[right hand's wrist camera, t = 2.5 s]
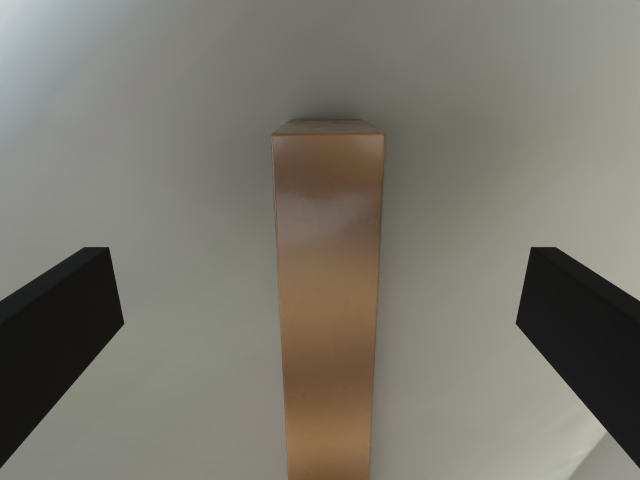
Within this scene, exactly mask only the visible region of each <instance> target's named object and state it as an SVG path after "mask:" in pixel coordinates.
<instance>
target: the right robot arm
mask: <svg viewBox="0 0 640 480" xmlns="http://www.w3.org/2000/svg"><path fill="white" fill-rule="evenodd" d="M123 325H124V320H123V315H122V310H121V305H120V300H119V295H118V290H117V285H116V280H115V275H114V270H113V265H112V260H111V255H110V250H109V247H84V248H82V249H81V250H79V251H78V252H76V253H74V254H73V255H71V256H70V257H68V258H67V259H65V260H64V261H62V262H60V263H59V264H57V265H56V266H54V267H53V268H51V269H50V270H48V271H46V272H45V273H43V274H42V275H40V276H39V277H37V278H36V279H34V280H32V281H31V282H29V283H28V284H26V285H25V286H23V287H22V288H20V289H19V290H17V291H15V292H14V293H12V294H11V295H9V296H8V297H6V298H5V299H3V300H1V301H0V468H1V467H2V466H3V465H4V464H5V462H6V461H7V460H8V459H9V458H10V457H11V455H12V454H13V453H14V452H15V451H16V450H17V448H18V447H19V446H20V445H21V444H22V443H23V441H24V440H25V439H26V438H27V437H28V436H29V434H30V433H31V432H32V431H33V430H34V429H35V427H36V426H37V425H38V424H39V423H40V422H41V420H42V419H43V418H44V417H45V416H46V415H47V413H48V412H49V411H50V410H51V409H52V408H53V406H54V405H55V404H56V403H57V402H58V401H59V399H60V398H61V397H62V396H63V395H64V394H65V392H66V391H67V390H68V389H69V388H70V387H71V385H72V384H73V383H74V382H75V381H76V380H77V378H78V377H79V376H80V375H81V374H82V373H83V371H84V370H85V369H86V368H87V367H88V366H89V364H90V363H91V362H92V361H93V360H94V359H95V357H96V356H97V355H98V354H99V353H100V352H101V350H102V349H103V348H104V347H105V346H106V345H107V343H108V342H109V341H110V340H111V339H112V338H113V336H114V335H115V334H116V333H117V332H118V331H119V329H120V328H121V327H122V326H123ZM516 325H517V326H518V327H519V328H520V329H521V331H522V332H523V333H524V334H525V335H526V336H527V338H528V339H529V340H530V341H531V342H532V343H533V345H534V346H535V347H536V348H537V349H538V350H539V352H540V353H541V354H542V355H543V356H544V357H545V359H546V360H547V361H548V362H549V363H550V364H551V366H552V367H553V368H554V369H555V370H556V371H557V373H558V374H559V375H560V376H561V377H562V378H563V380H564V381H565V382H566V383H567V384H568V385H569V387H570V388H571V389H572V390H573V391H574V392H575V394H576V395H577V396H578V397H579V398H580V399H581V401H582V402H583V403H584V404H585V405H586V406H587V408H588V409H589V410H590V411H591V412H592V413H593V415H594V416H595V417H596V418H597V419H598V420H599V422H600V423H601V424H602V425H603V426H604V427H605V429H606V430H607V431H608V432H609V433H610V434H611V436H612V437H613V438H614V439H615V440H616V441H617V443H618V444H619V445H620V446H621V447H622V448H623V450H624V451H625V452H626V453H627V454H628V455H629V457H630V458H631V459H632V460H633V461H634V462H635V463H636V465H637V466H638V467H639V468H640V301H639V300H637V299H635V298H634V297H632V296H631V295H629V294H628V293H626V292H625V291H623V290H621V289H620V288H618V287H617V286H615V285H614V284H612V283H611V282H609V281H608V280H606V279H604V278H603V277H601V276H600V275H598V274H597V273H595V272H594V271H592V270H590V269H589V268H587V267H586V266H584V265H583V264H581V263H580V262H578V261H576V260H575V259H573V258H572V257H570V256H569V255H567V254H566V253H564V252H562V251H561V250H559V249H558V248H556V247H531V250H530V255H529V260H528V265H527V270H526V275H525V280H524V285H523V290H522V295H521V300H520V305H519V310H518V315H517V320H516Z"/></svg>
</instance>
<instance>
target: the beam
mask: <svg viewBox="0 0 640 480" xmlns="http://www.w3.org/2000/svg"><path fill="white" fill-rule="evenodd" d="M271 149H272V168H273V188H274V208H275V228H276V247H277V267H278V287H279V307H280V327H281V346H282V366H283V386H284V406H285V425H286V445H287V465H288V480H369V466H370V445H371V424H372V404H373V383H374V362H375V341H376V320H377V299H378V278H379V258H380V237H381V216H382V195H383V174H384V153H385V133H383V132H381V131H380V130H378V129H376V128H375V127H373V126H371V125H369V124H368V123H366V122H364V121H362V120H289V121H288V122H286V123H285V124H284V125H283V126H281V127H280V128H279V129H278V130H276V131H275V132H274V133H273V134H272V135H271Z"/></svg>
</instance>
